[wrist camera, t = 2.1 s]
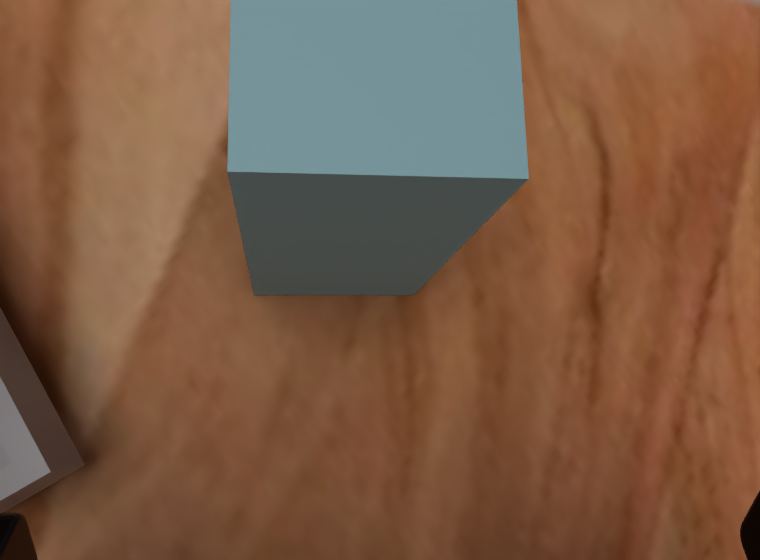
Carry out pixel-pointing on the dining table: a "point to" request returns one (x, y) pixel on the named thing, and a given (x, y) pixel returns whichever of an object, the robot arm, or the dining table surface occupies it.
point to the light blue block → (370, 137)
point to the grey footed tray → (28, 428)
